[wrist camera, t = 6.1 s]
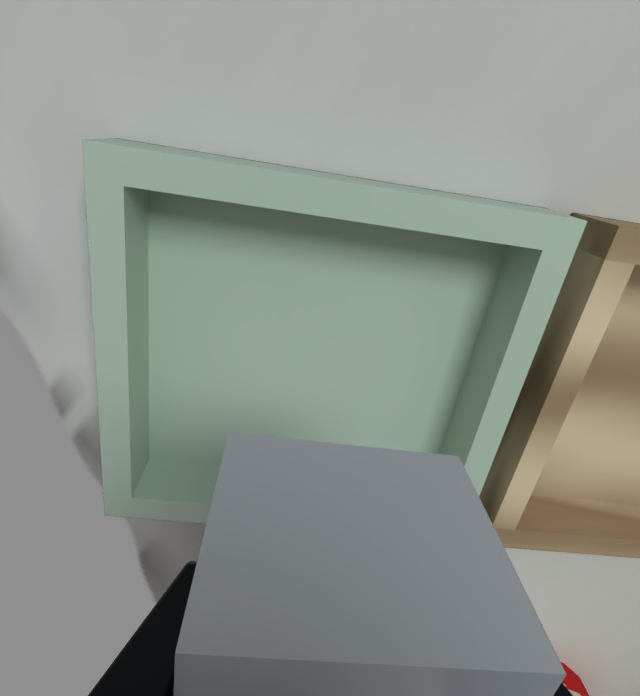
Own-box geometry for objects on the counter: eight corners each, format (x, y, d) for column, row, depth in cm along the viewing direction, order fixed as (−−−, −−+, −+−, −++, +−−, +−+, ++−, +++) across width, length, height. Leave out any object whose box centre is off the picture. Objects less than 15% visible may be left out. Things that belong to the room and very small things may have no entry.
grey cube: (406, 607, 11) (458, 844, 7) (214, 594, 10) (168, 841, 7) (458, 456, 9) (567, 674, 5) (228, 432, 8) (174, 652, 5)
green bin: (443, 499, 21) (460, 544, 19) (127, 470, 19) (104, 515, 17) (545, 207, 15) (587, 221, 13) (117, 138, 14) (82, 139, 12)
